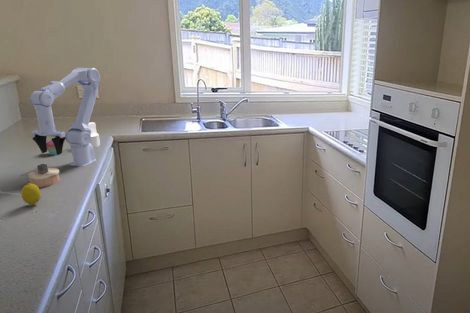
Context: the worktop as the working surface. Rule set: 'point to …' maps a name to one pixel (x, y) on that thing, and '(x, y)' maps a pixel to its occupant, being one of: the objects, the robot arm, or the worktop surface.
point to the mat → (37, 169)
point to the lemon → (30, 193)
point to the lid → (43, 172)
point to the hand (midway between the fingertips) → (52, 153)
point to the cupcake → (51, 148)
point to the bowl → (45, 181)
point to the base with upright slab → (94, 135)
